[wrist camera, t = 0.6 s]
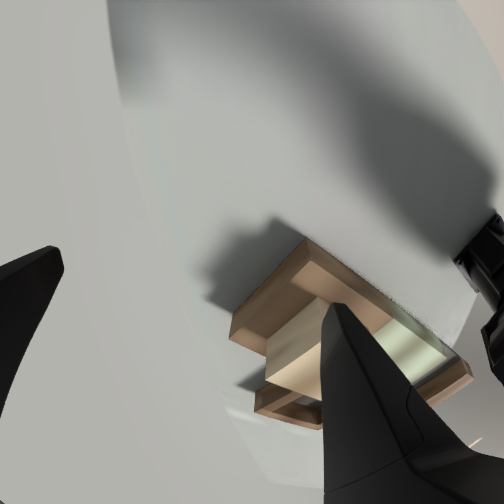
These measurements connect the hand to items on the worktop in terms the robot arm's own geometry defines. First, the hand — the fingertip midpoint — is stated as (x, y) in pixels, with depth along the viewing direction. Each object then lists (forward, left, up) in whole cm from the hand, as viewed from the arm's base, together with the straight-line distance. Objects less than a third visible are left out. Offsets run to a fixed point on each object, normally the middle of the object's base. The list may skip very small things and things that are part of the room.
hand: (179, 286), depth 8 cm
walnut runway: (-24, +11, -12) cm, 29 cm away
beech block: (-13, +6, -9) cm, 17 cm away
